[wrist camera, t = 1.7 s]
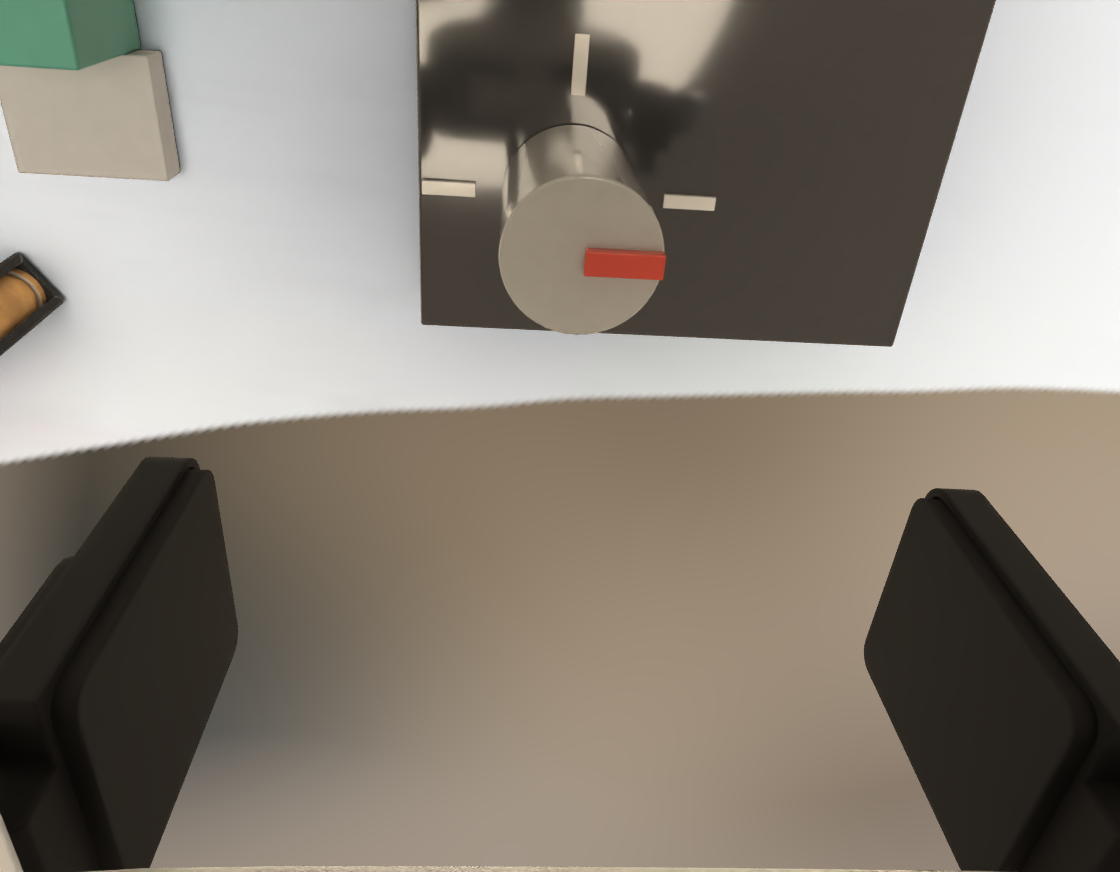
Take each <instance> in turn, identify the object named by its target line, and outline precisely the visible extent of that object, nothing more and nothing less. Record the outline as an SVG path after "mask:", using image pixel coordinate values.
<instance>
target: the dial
mask: <svg viewBox="0 0 1120 872" xmlns="http://www.w3.org/2000/svg"><path fill="white" fill-rule="evenodd" d="M498 255H499V268H500V274H501V277H502V281H503V284H504V286H505V288H506V290H507V292H508V294H509V296H510V297H511V299H512V301H513V302H514V303H515V304H516V306H517V307H518V308H519V309H520V310H521V311H522V312H523V313H524V314H525V315H526V316H527V317H529V318H530V319H532V320H533V321H534V322H536V323H538V324H540V325H542V326H544V327H545V328H548V329H551V330H554V331H557V332H561V333H566V334H575V335H578V334H592V333H598V332H602V331H606V330H608V329H611V328H614V327H616V326H618V325H620V324H622V323H623V322H625V321H627V320H628V319H629V318H631V317H632V316H634V315H635V314H636V313H637V312H638V311H639V310H640V309H641V308H642V307H643V306H644V305H645V304H646V303H647V301H648V300H649V299H650V297H651V296H652V294H653V293H654V291H655V289H656V287H657V285H658V283H659V280H663V277H664V270H665V263H666V255H665V246H664V238H663V233H662V230H661V227H660V224H659V221H658V219H657V217H656V215H655V213H654V210H653V208H652V206H651V204H650V202H649V200H648V197H647V195H646V193H645V191H644V189H643V187H642V184H641V182H640V180H639V178H638V176H637V173H636V171H635V169H634V167H633V165H632V163H631V161H630V159H629V157H628V156H627V154H626V153H625V151H624V150H623V149H622V148H621V147H620V145H619V144H618V143H617V142H615V141H614V140H613V139H612V138H611V137H609V136H607V135H606V134H604V133H602V132H600V131H598V130H596V129H593V128H590V127H586V126H580V125H563V126H556V127H553V128H549V129H547V130H544V131H542V132H540V133H538V134H537V135H535V136H533V137H532V138H530V139H529V140H528V141H527V142H525V143H524V144H523V145H522V146H521V148H520V149H519V150H518V151H517V152H516V154H515V155H514V156H513V158H512V160H511V162H510V164H509V165H508V168H507V171H506V173H505V177H504V181H503V189H502V204H501V220H500V237H499V253H498Z"/></svg>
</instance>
